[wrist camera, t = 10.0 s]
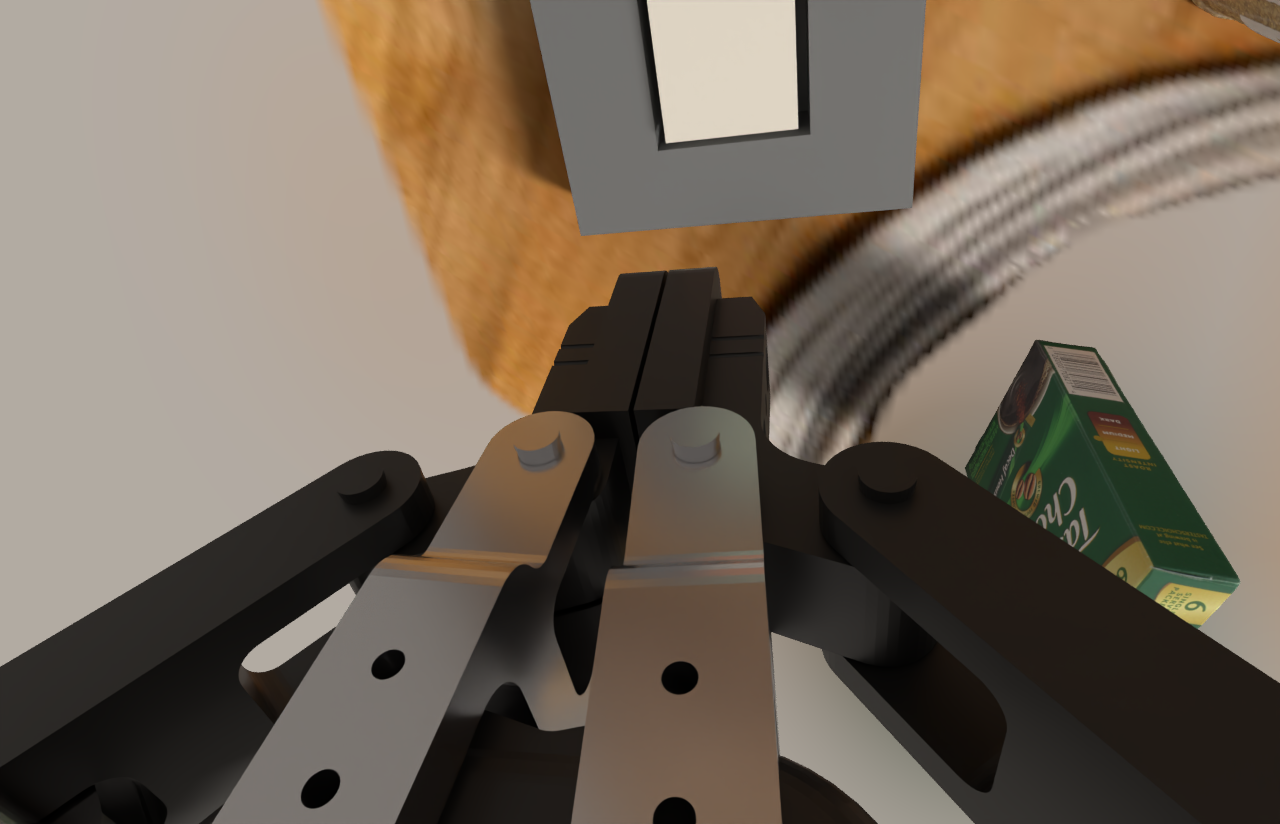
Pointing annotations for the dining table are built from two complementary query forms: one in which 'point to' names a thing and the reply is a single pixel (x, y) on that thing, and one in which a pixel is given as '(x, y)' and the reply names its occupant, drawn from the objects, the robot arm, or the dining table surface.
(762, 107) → the button cream
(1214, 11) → the sprinkles bottle
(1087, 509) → the coffee box
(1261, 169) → the dining table surface
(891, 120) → the button panel
